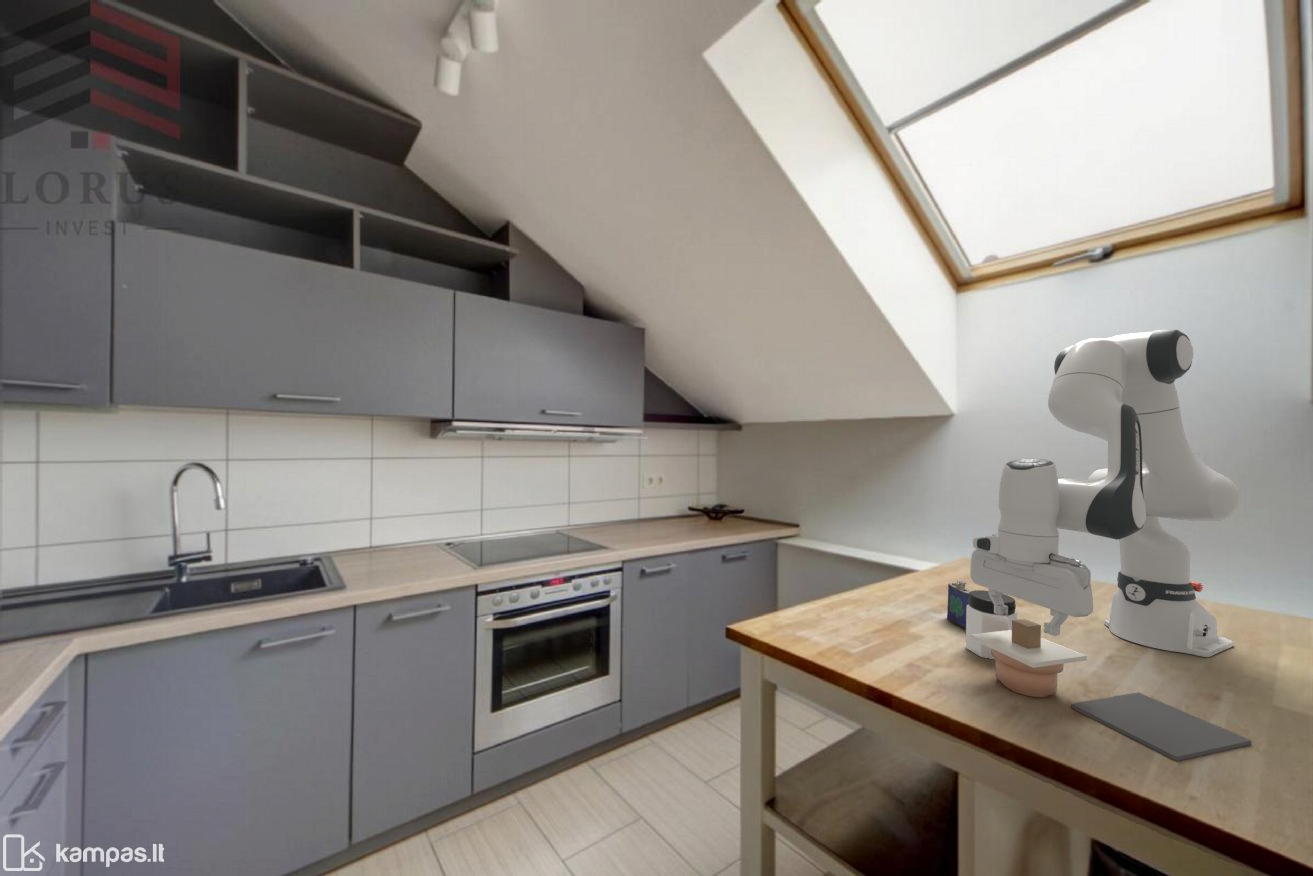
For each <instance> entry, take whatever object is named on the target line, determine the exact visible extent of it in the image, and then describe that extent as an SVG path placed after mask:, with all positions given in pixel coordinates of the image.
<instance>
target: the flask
mask: <svg viewBox="0 0 1313 876" xmlns="http://www.w3.org/2000/svg"><path fill="white" fill-rule="evenodd" d="M966 585H967V582H966V581H962V580H956V582H948V584H947V587H948V589H947V607H946V608H947V609H946V610H947V611H946V612H947V614H946V615H947V616H946V619H947V621H948V622H949V623H952V624H953V625H955V626H957V627H959V628H961V629H963V630H964V631H966V606H967V605H968V604H969V592H971V591H972V590H970V589H967V588H966Z"/></svg>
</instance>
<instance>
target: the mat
mask: <svg viewBox="0 0 1313 876" xmlns="http://www.w3.org/2000/svg"><path fill="white" fill-rule="evenodd" d="M1069 708H1071V709H1074V710H1075V711H1076V712H1079V713H1080V714H1082V715H1084V716H1086V717H1089V718H1091V719H1093V720H1095V721H1097V722H1098V723H1101V724H1103V725H1105V726H1106V727H1109V728H1110V729H1112V730H1114V731H1117V732H1118V733H1120V734H1123V735H1125V736H1127V737H1129V738H1130V739H1131V740H1135V741H1137V742H1138V743H1140V744H1142V745H1144V746H1147V747H1148V748H1151V749H1152V750H1154V751H1156V752H1158V753H1159V754H1162V755H1164V756H1166V757H1168V758H1169V759H1172V760H1174V761H1177V762H1178V761H1182V760H1187V759H1191V758H1196V757H1201V756H1205V755H1209V754H1215V753H1218V752H1224V751H1228V750H1233V749H1237V748H1240V747H1245V746H1250V745H1252V740H1251V739H1249V738H1248V737H1245V736H1242V735H1239V734H1237V733H1235V732H1232V731H1230V730H1228V729H1225V728H1224V727H1222V726H1218V725H1216V724H1214V723H1211V722H1209V721H1207V720H1205V719H1201V718H1200V717H1197V716H1195V715H1192V714H1190V713H1188V712H1185V711H1183V710H1181V709H1178V708H1176V707H1174V706H1172V705H1169V704H1167V703H1164V702H1162V701H1159V700H1157V699H1155V698H1153V697H1151V696H1148V695H1145V694H1143V693H1141V692H1133V693H1127V694H1120V695H1114V696H1110V697H1104V698H1098V699H1092V700H1085V701H1079V702H1073V703H1070V707H1069Z"/></svg>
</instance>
